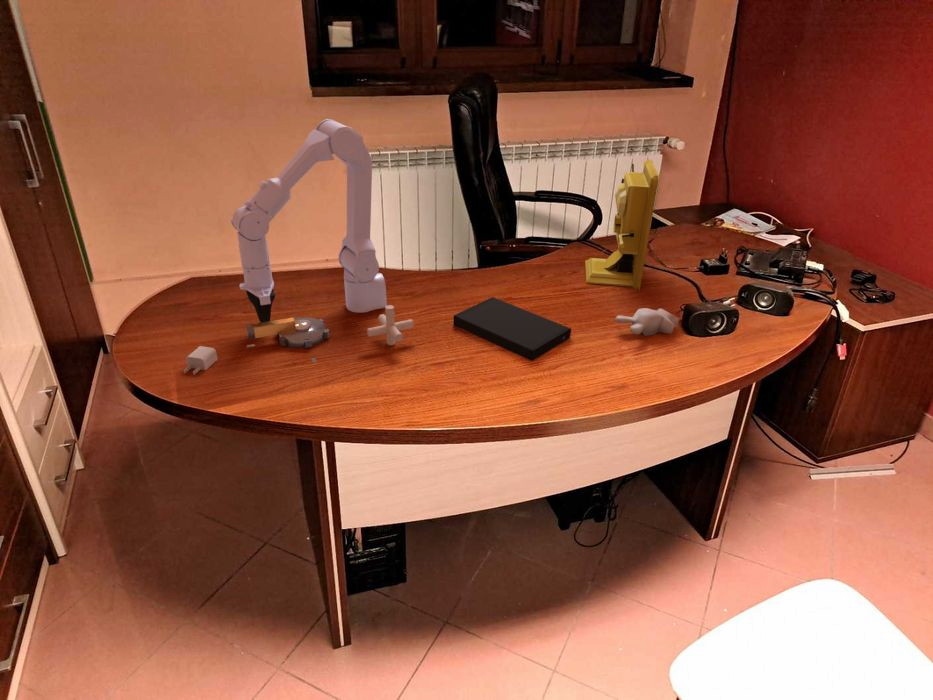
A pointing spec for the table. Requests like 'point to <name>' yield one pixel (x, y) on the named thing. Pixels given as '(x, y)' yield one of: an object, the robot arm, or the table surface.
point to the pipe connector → (390, 326)
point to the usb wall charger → (201, 359)
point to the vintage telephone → (628, 231)
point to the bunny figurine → (650, 321)
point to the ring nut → (292, 331)
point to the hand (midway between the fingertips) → (264, 320)
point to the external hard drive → (512, 328)
